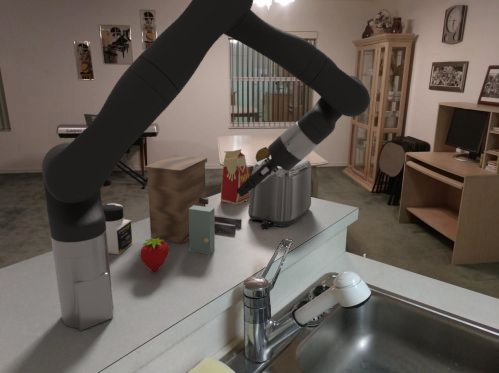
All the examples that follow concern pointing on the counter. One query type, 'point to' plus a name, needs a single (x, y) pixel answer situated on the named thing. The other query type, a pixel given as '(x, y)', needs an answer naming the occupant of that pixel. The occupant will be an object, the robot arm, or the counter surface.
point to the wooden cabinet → (179, 197)
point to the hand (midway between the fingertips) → (244, 188)
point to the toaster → (281, 195)
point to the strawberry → (154, 254)
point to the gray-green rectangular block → (202, 229)
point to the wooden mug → (259, 158)
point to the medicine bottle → (117, 229)
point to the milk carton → (234, 177)
